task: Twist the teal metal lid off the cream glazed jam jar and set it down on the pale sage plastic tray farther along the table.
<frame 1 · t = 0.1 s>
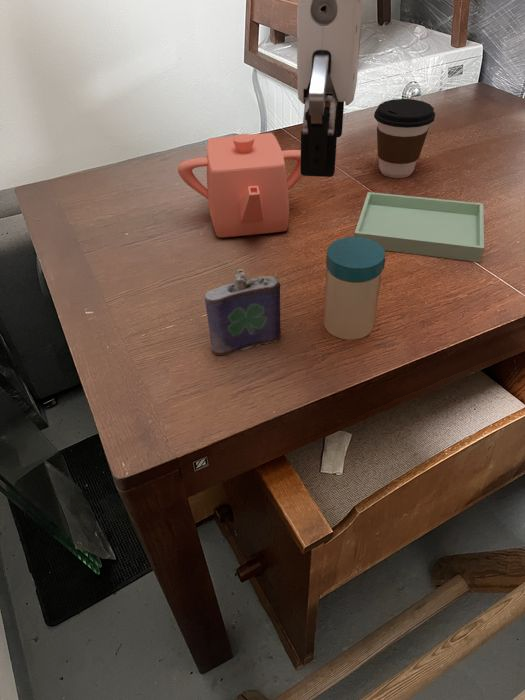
hand: (322, 154, 52), 23 cm above the table, tool pointing down, fingers open, 9 cm apart
jar: (348, 323, 67), on the table
tray: (418, 231, 83), on the table
coffee cup: (395, 172, 100), on the table
lid: (355, 254, 60), point 11 cm above the table, screwed on, not yet turned
flask: (246, 343, 65), on the table
teapot: (249, 224, 87), on the table
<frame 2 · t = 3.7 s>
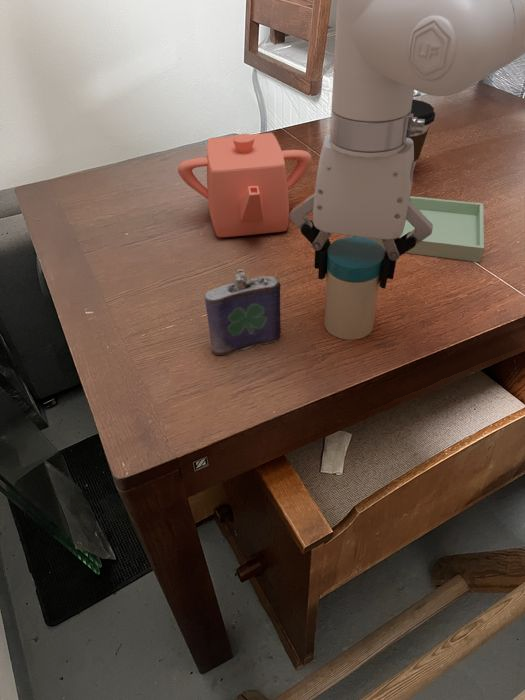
hand: (353, 276, 62), 8 cm above the table, tool pointing down, fingers closed on lid, 6 cm apart
lid: (355, 254, 60), point 11 cm above the table, screwed on, not yet turned, touching gripper
everything else where it was.
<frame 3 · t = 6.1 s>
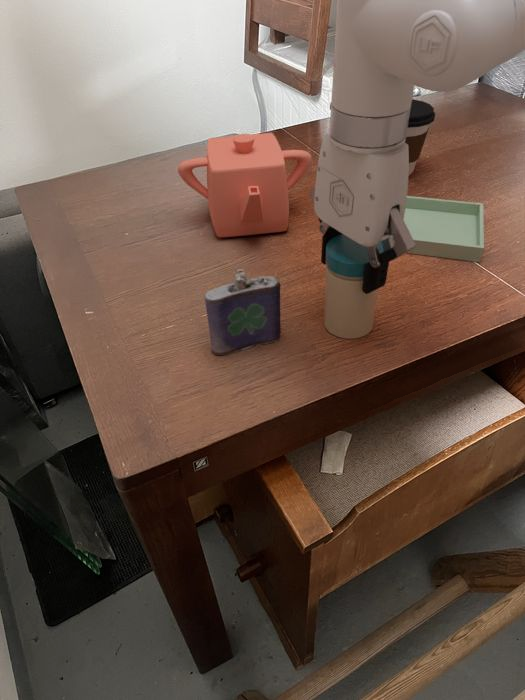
hand: (352, 273, 62), 8 cm above the table, tool pointing down, fingers closed on lid, 6 cm apart
jar: (348, 322, 67), on the table, touching gripper
lid: (354, 250, 59), point 11 cm above the table, turned 139° so far, risen 0.4 cm, still on its thread, touching gripper
everything else where it was.
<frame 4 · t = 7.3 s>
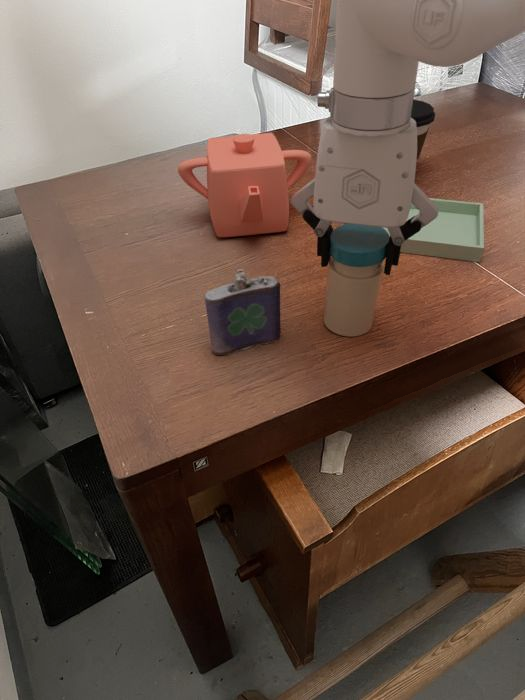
hand: (357, 263, 60), 10 cm above the table, tool pointing down, fingers closed on lid, 6 cm apart
jar: (347, 320, 67), on the table
lid: (359, 239, 58), point 13 cm above the table, off its thread, touching gripper
everything else where it was.
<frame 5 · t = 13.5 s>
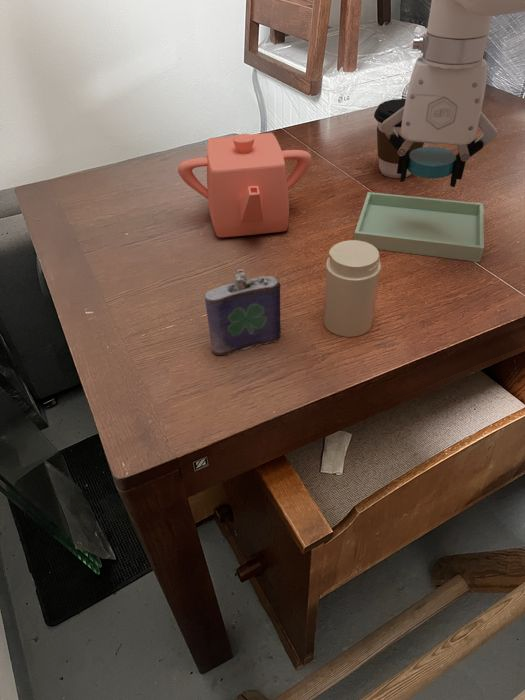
hand: (427, 179, 77), 9 cm above the table, tool pointing down, fingers closed on lid, 6 cm apart
lid: (431, 158, 75), point 12 cm above the table, off its thread, touching gripper
everything else where it was.
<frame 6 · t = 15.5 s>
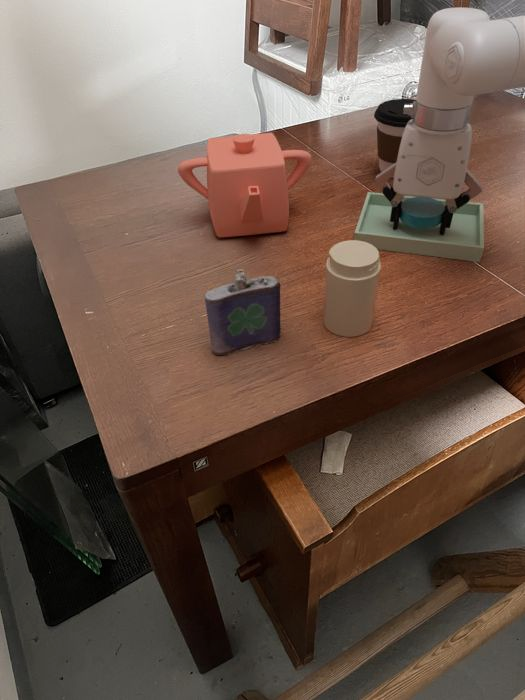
hand: (418, 227, 83), 1 cm above the table, tool pointing down, fingers closed on lid, 6 cm apart
lid: (422, 209, 81), point 4 cm above the table, off its thread, touching gripper
everything else where it was.
when the fingers open (1 cm above the table, at t = 23.6 s): lid drops 3 cm, resting on tray.
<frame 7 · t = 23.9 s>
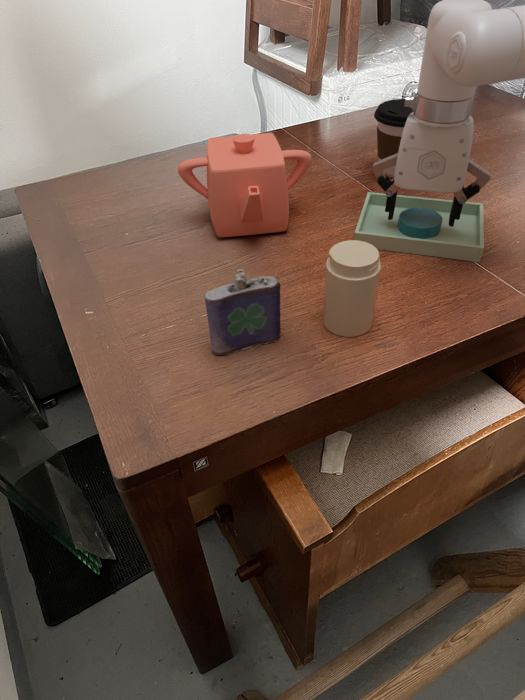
hand: (420, 219, 82), 2 cm above the table, tool pointing down, fingers open, 9 cm apart
lid: (420, 219, 82), point 2 cm above the table, off its thread, touching tray
everything else where it was.
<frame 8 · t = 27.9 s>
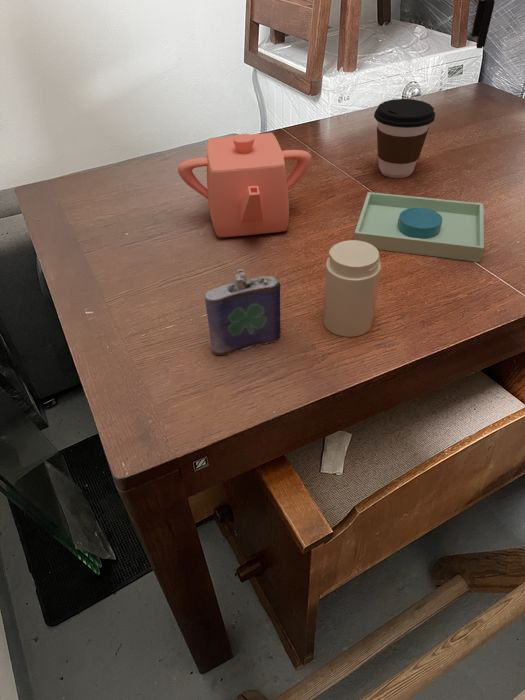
nothing on the table moved.
at the end: lid inside the target area in the tray (0.1 cm from its centre), point 2.0 cm above the tray's base; lid point 2.0 cm above the table; the gripper is holding nothing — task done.
